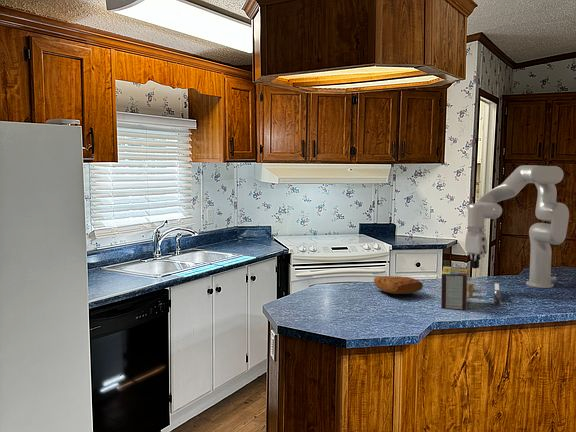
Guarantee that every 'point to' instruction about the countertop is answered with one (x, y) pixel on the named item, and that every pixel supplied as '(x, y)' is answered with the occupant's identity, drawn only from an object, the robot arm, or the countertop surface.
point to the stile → (469, 290)
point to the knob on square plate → (497, 299)
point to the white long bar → (496, 286)
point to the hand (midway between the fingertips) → (475, 267)
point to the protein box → (454, 288)
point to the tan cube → (471, 283)
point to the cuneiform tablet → (398, 284)
